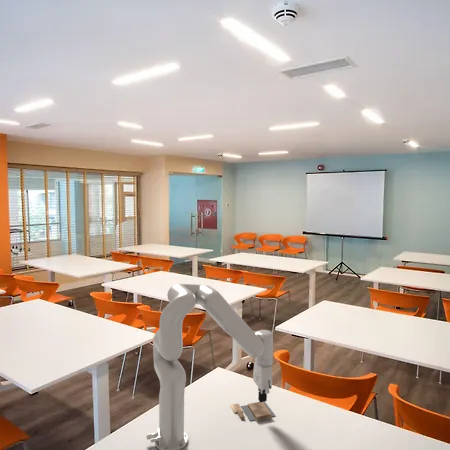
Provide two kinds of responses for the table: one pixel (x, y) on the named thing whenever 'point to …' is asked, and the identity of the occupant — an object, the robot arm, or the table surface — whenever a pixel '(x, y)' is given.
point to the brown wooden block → (259, 411)
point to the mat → (249, 415)
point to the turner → (237, 410)
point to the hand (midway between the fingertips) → (262, 400)
